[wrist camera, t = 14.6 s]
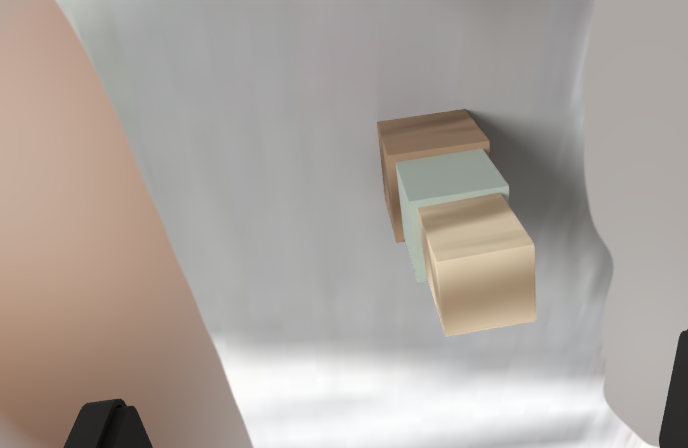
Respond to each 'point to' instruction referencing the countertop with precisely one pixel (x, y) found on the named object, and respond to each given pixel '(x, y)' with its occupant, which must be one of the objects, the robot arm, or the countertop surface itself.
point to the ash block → (478, 264)
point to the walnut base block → (422, 148)
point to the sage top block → (442, 190)
